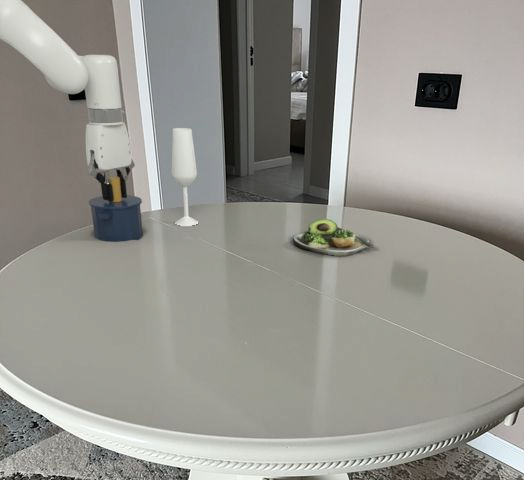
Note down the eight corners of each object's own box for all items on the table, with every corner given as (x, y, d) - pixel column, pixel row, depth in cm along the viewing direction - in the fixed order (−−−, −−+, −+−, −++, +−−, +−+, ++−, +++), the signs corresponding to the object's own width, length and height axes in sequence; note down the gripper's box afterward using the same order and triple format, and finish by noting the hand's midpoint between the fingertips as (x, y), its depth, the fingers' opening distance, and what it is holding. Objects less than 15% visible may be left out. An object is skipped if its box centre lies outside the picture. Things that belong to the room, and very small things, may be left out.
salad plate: (389, 246, 132) (391, 227, 130) (351, 264, 120) (353, 244, 117) (324, 230, 142) (325, 213, 140) (283, 245, 130) (284, 227, 128)
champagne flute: (172, 220, 148) (166, 127, 136) (195, 219, 150) (192, 127, 138) (177, 227, 142) (171, 131, 131) (201, 225, 144) (198, 130, 133)
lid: (80, 210, 125) (76, 181, 122) (100, 198, 136) (96, 171, 133) (133, 212, 124) (130, 184, 121) (148, 200, 135) (146, 173, 132)
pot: (83, 246, 127) (78, 210, 123) (108, 226, 142) (104, 193, 138) (131, 248, 126) (127, 212, 122) (150, 228, 141) (148, 195, 137)
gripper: (122, 113, 128) (130, 190, 137) (64, 118, 117) (77, 202, 125) (144, 115, 125) (150, 194, 134) (86, 120, 113) (98, 207, 122)
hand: (115, 197), depth 129 cm, fingers open, 3 cm apart
